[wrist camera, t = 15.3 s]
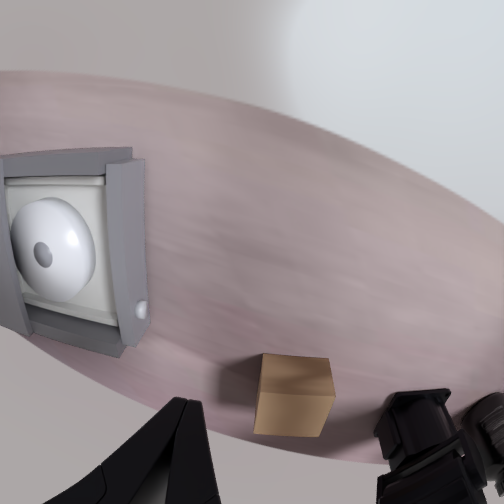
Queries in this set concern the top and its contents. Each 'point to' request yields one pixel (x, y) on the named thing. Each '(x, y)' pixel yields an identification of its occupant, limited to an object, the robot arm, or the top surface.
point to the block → (293, 396)
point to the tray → (99, 243)
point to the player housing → (3, 265)
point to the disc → (53, 248)
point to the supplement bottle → (489, 436)
